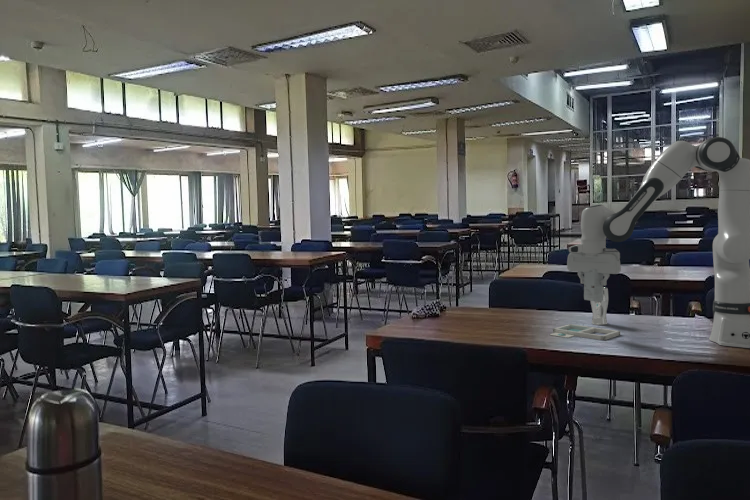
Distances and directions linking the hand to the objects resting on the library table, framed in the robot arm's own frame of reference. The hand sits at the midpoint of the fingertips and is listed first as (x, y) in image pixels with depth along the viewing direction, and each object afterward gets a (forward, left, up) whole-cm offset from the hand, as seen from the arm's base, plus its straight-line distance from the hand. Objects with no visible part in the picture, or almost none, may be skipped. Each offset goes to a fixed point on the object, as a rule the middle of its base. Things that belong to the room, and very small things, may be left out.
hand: (593, 284), depth 224 cm
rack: (+3, +2, -19) cm, 20 cm away
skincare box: (0, 0, -6) cm, 6 cm away
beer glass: (+9, -21, -20) cm, 30 cm away
